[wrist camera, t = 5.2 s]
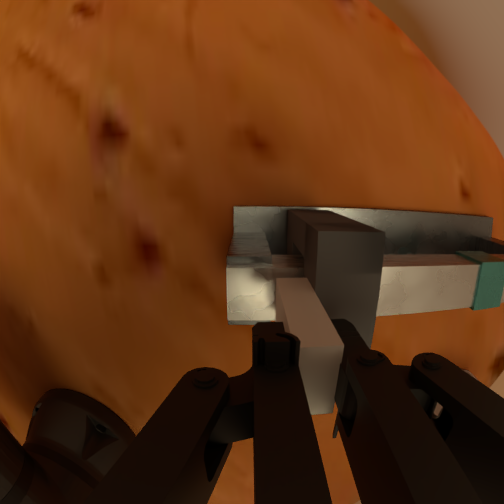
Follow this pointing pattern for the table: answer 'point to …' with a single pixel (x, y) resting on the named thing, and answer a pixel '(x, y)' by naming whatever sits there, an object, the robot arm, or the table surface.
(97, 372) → the table surface
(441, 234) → the pipe rail
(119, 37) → the table surface
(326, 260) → the ring collar
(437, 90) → the table surface
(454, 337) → the table surface
